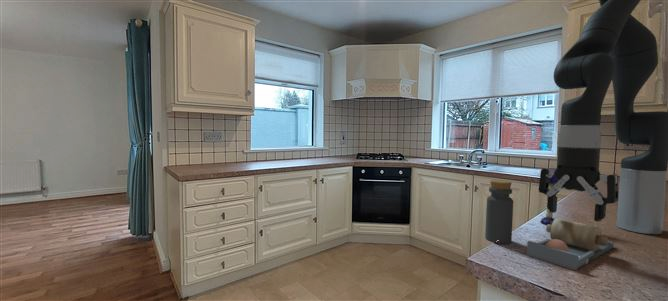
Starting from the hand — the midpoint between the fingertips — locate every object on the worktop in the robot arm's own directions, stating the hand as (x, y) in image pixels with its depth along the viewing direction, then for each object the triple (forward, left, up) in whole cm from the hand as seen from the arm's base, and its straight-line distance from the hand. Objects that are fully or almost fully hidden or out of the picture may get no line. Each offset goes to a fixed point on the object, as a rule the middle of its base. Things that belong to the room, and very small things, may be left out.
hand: (574, 216), depth 70 cm
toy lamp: (-19, -12, -8) cm, 24 cm away
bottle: (+8, -13, -8) cm, 17 cm away
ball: (+10, 0, -7) cm, 12 cm away
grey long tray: (0, 0, -8) cm, 8 cm away
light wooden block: (-9, 0, -8) cm, 12 cm away
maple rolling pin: (-1, 0, -8) cm, 8 cm away
